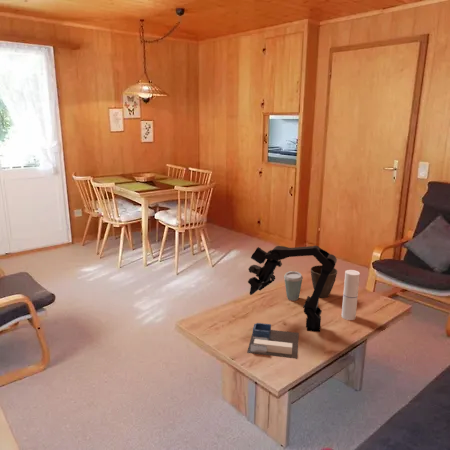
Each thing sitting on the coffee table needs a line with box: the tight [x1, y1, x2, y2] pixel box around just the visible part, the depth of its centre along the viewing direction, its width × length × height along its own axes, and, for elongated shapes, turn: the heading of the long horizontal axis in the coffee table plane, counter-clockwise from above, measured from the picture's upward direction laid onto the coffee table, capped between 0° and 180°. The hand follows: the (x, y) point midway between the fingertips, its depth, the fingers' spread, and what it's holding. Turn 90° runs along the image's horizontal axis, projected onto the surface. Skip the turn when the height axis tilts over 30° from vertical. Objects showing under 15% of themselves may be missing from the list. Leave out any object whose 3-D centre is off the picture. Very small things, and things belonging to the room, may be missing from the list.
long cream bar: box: [254, 339, 292, 354], centre depth 184 cm, size 17×4×4 cm, turn 78°
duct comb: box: [246, 322, 300, 360], centre depth 190 cm, size 22×22×4 cm
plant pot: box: [310, 264, 338, 299], centre depth 239 cm, size 15×15×16 cm
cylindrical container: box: [340, 269, 361, 321], centre depth 213 cm, size 7×7×25 cm
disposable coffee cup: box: [283, 270, 304, 302], centre depth 235 cm, size 11×11×15 cm
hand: (254, 292), depth 211 cm, fingers open, 9 cm apart
